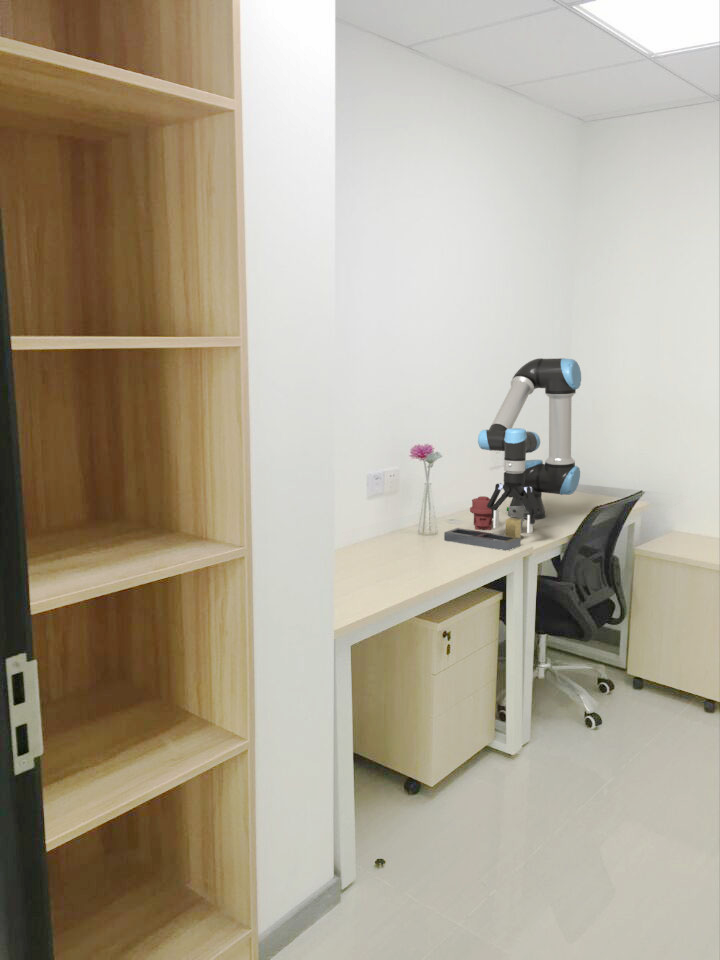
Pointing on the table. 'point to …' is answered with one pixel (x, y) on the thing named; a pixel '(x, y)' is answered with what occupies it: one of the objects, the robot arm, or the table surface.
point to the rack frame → (482, 539)
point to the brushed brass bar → (513, 527)
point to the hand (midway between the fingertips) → (512, 530)
